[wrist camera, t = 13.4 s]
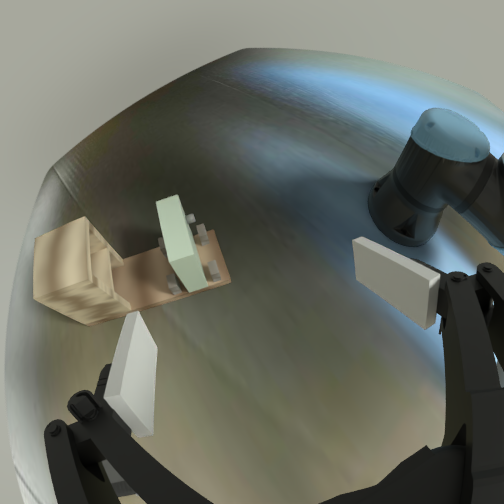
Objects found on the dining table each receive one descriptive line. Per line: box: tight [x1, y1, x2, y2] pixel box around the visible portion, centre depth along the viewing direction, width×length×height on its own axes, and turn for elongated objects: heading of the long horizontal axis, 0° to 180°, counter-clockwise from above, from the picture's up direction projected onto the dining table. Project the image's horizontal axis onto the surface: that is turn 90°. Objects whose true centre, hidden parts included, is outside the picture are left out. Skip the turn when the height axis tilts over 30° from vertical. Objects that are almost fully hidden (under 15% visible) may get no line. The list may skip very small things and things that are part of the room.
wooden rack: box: [33, 216, 231, 326], centre depth 36 cm, size 25×9×15 cm, turn 110°
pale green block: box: [156, 195, 208, 293], centre depth 38 cm, size 4×9×11 cm, turn 20°
